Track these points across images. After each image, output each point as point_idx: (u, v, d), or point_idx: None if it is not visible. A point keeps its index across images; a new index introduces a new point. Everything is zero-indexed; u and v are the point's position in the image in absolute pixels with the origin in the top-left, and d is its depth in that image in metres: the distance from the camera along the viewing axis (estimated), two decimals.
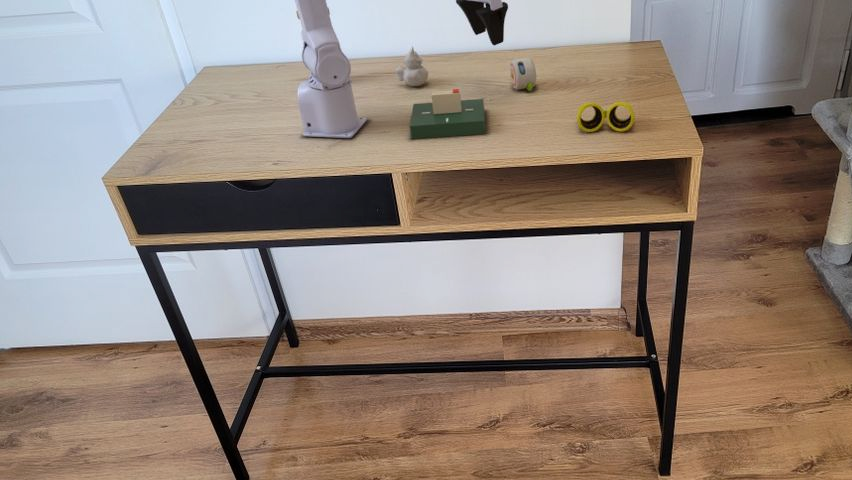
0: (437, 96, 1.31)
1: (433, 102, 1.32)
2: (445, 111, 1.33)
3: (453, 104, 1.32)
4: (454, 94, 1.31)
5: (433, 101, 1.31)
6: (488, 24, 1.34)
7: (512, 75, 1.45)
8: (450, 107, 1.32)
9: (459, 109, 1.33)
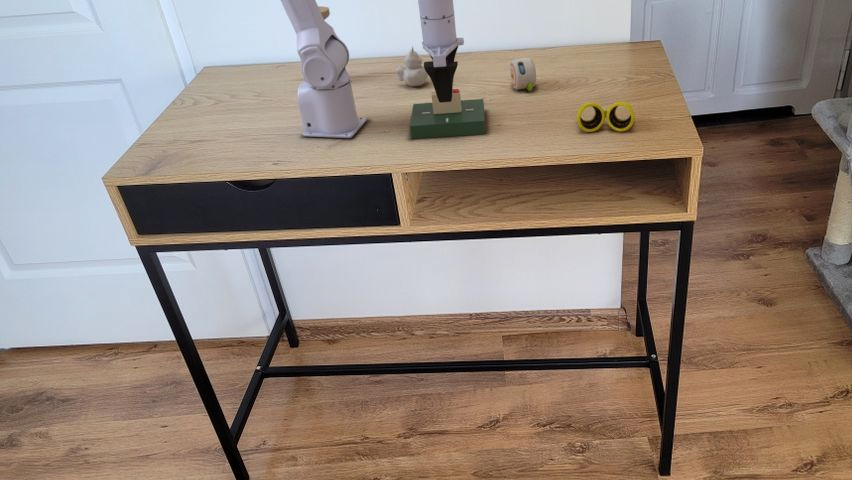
0: None
1: (433, 102, 1.32)
2: (445, 111, 1.33)
3: (453, 104, 1.32)
4: (454, 94, 1.31)
5: (433, 101, 1.31)
6: (432, 79, 1.25)
7: (512, 75, 1.45)
8: (450, 107, 1.32)
9: (459, 109, 1.33)
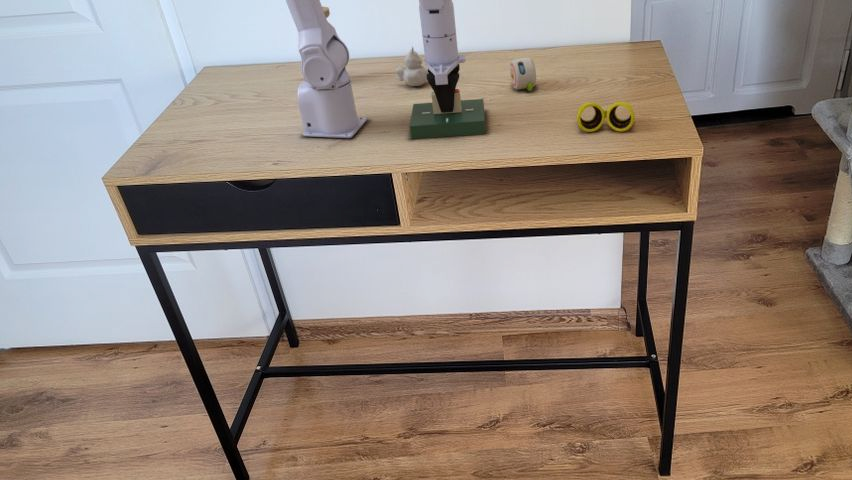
0: None
1: (433, 102, 1.32)
2: None
3: None
4: None
5: (433, 101, 1.31)
6: (435, 90, 1.29)
7: (512, 75, 1.45)
8: None
9: (459, 109, 1.33)
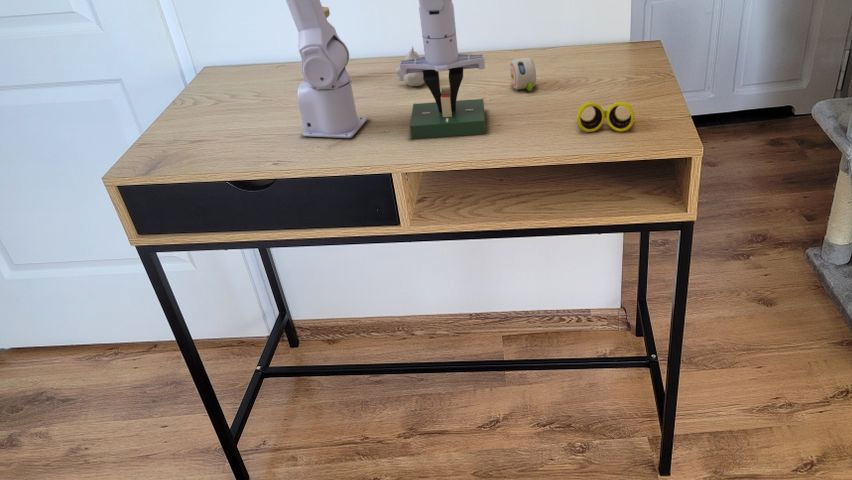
0: (441, 91, 1.33)
1: None
2: None
3: None
4: None
5: None
6: None
7: (512, 75, 1.45)
8: None
9: (442, 113, 1.31)
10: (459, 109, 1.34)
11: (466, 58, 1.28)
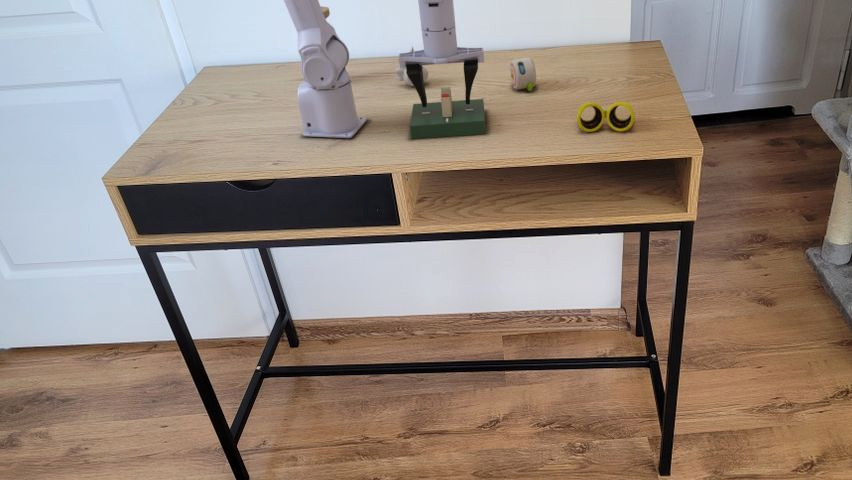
0: (441, 91, 1.33)
1: None
2: None
3: None
4: None
5: None
6: None
7: (512, 75, 1.45)
8: None
9: (442, 113, 1.31)
10: (459, 109, 1.34)
11: (465, 51, 1.27)
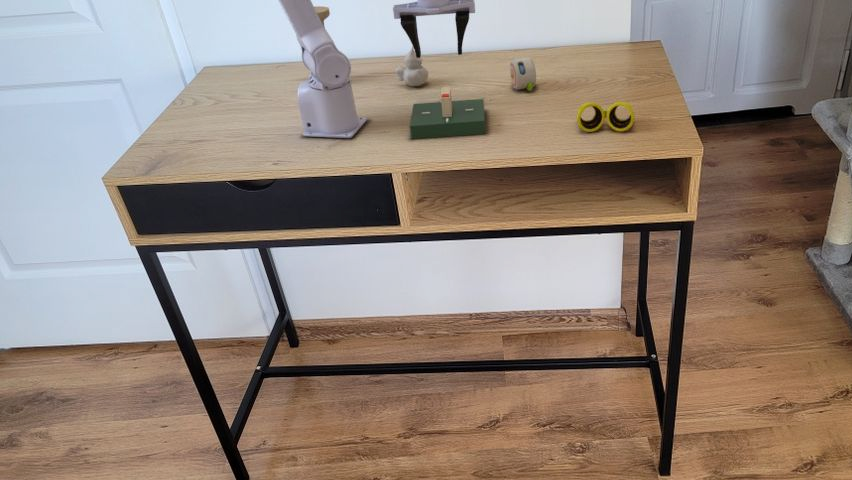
0: (441, 91, 1.33)
1: None
2: None
3: None
4: None
5: None
6: None
7: (512, 75, 1.45)
8: None
9: (442, 113, 1.31)
10: (459, 109, 1.34)
11: (457, 2, 1.33)
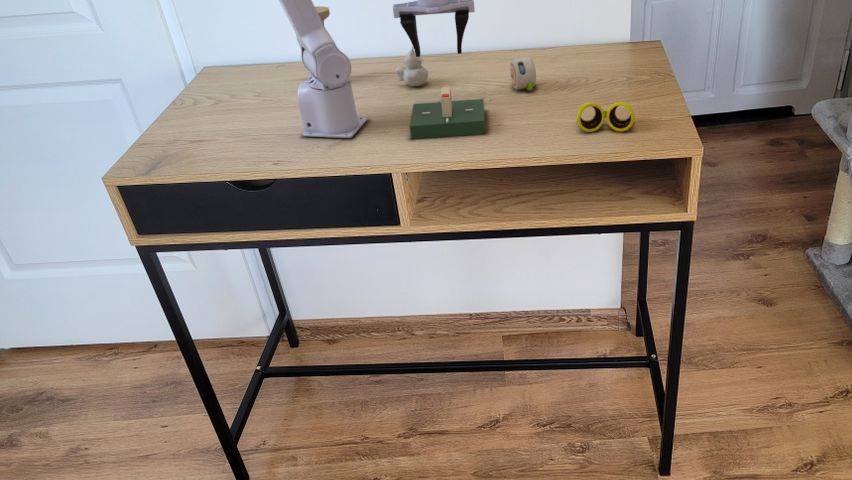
0: (441, 91, 1.33)
1: None
2: None
3: None
4: None
5: None
6: None
7: (512, 75, 1.45)
8: None
9: (442, 113, 1.31)
10: (459, 109, 1.34)
11: (456, 1, 1.33)
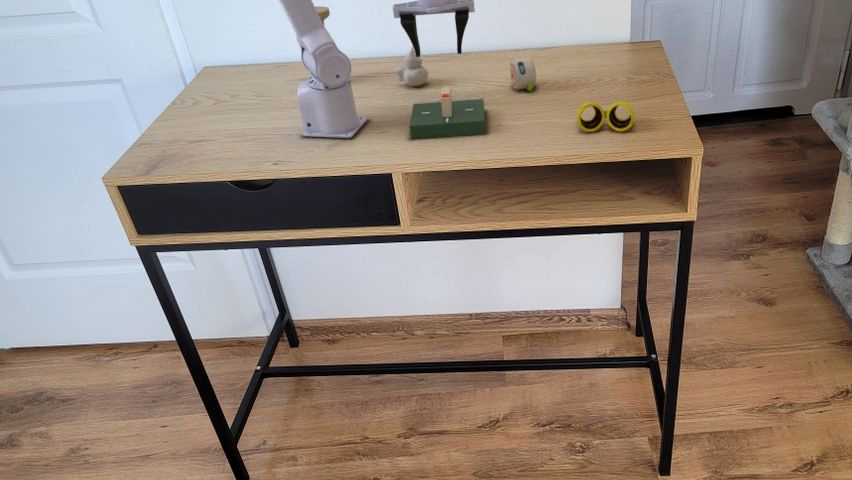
0: (441, 91, 1.33)
1: None
2: None
3: None
4: None
5: None
6: None
7: (512, 75, 1.45)
8: None
9: (442, 113, 1.31)
10: (459, 109, 1.34)
11: (456, 1, 1.33)
